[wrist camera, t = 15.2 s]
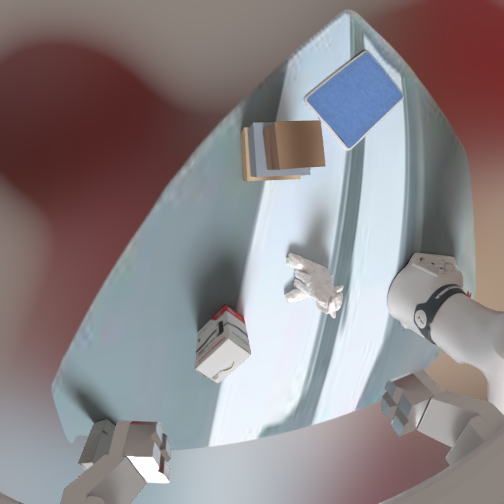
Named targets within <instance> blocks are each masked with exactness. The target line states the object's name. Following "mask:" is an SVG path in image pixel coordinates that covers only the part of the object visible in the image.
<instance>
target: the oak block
mask: <svg viewBox="0 0 504 504" xmlns="http://www.w3.org/2000/svg"><path fill="white" fill-rule="evenodd" d="M248 128H249V127H244V129H243V130H242V131H241V152H242V170H243V180H244V181H261V180H285V179H300V175H288V176H269V177H251V175H250V161H249V146H248V132H247V129H248Z"/></svg>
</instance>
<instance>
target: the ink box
mask: <svg viewBox="0 0 504 504" xmlns="http://www.w3.org/2000/svg"><path fill="white" fill-rule="evenodd" d="M250 355H251V350H250V345H249V340H248V335H247V330H246V325H245V321H244V318H243V317H242V316H241V315H239V314H238V313H237V312H236V311H234V310H233V309H232V308H230V307H229V306H227V305H224V306H223V307H222V308H221V309H220V310H219V311H218V312H217V313H216V314H215V315H214V316H213V317H212V318H211V319H210V320H209V321H208V322H207V323H206V324H205V325H204V326H203V327H202V329H201V330H199V332H198V333H197V347H196V362H195V370H197V371H198V372H199V373H201V374H202V375H204V376H205V377H207V378H208V379H210V380H211V381H213V382H215V383H218V382H221V381H222V380H223V379H224V378H226V377H227V376H228V375H229V374H230V373H231V372H232V371H234V370H235V369H236V368H237V367H238V366H239V365H240V364H242V363H243V362H244V361H245V360H246V359H247V358H248V357H249V356H250Z"/></svg>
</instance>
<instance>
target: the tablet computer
mask: <svg viewBox="0 0 504 504" xmlns="http://www.w3.org/2000/svg"><path fill="white" fill-rule="evenodd" d="M403 98H404V96H403V94H402V92H401V91H400V90H399V88H398V87H397V86H396V84H395V83H394V82H393V80H392V79H391V78H390V77H389V75H388V74H387V73H386V71H385V70H384V69H383V68H382V67H381V65H380V64H379V63H378V62H377V61H376V59H375V58H374V57H373V56H372V55H371V54H370V53H369V52H368V51H363V52H362V53H361V54H359V55H358V56H357V57H355V58H354V59H352V60H351V61H350V62H348V63H347V64H346V65H344V66H343V67H342V68H341V69H339V70H338V71H337V72H335V73H334V74H333V75H332V76H330V77H329V78H328V79H326V80H325V81H324V82H322V83H321V84H320V85H319V86H318V87H316V88H315V89H314V90H313V91H312V92H310V93H309V94H308V95H307V96H306V97H305V98H304V103H305V104H306V105H307V106H308V107H309V108H310V109H311V110H312V112H313V113H314V114H315V115H316V116H317V117H318V118H319V119H320V121H321V122H322V123H323V124H324V125H325V126H326V128H327V129H328V130H329V131H330V132H331V133H332V135H333V136H334V137H335V138H336V139H337V141H338V142H339V143H340V144H341V145H342V147H343V148H344V149H345V150H347V151H349V150H351V149H352V148H353V147H354V146H355V145H356V144H357V143H358V142H359V141H360V140H362V139H363V138H364V137H365V136H366V135H367V134H368V133H369V132H370V131H371V130H372V129H373V128H374V127H375V126H376V125H377V124H378V123H379V122H380V121H381V120H382V119H383V118H384V117H385V116H387V115H388V114H389V113H390V112H391V111H392V110H393V109H394V108H395V107H396V106H397V105H398V104H399V103H400V102H401V101H402V100H403Z"/></svg>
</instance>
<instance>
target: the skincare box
mask: <svg viewBox="0 0 504 504" xmlns="http://www.w3.org/2000/svg"><path fill="white" fill-rule="evenodd" d="M115 427H116V426H115V425H114V424H113V423H112V422H111V421H109V420H108V419H105V420H102V421H99V422H96V423H94V425H93V427H92V429H91V432H90V434H89V437H88V439H87V442H86V444H85V447H84V449H83V452H82V455H81V457H80V460H79V462H78V464H79V465H80V466H82V467H83V468H84V469H86V470H87V469H88V468H90V467H91V466H92V465H93V464H94V463H96V462H97V461H98V460H99V459H100V458H101V457H102V456H104V455H108V454H109V450H110V446H111V442H112V438H113V434H114V431H115Z"/></svg>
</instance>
